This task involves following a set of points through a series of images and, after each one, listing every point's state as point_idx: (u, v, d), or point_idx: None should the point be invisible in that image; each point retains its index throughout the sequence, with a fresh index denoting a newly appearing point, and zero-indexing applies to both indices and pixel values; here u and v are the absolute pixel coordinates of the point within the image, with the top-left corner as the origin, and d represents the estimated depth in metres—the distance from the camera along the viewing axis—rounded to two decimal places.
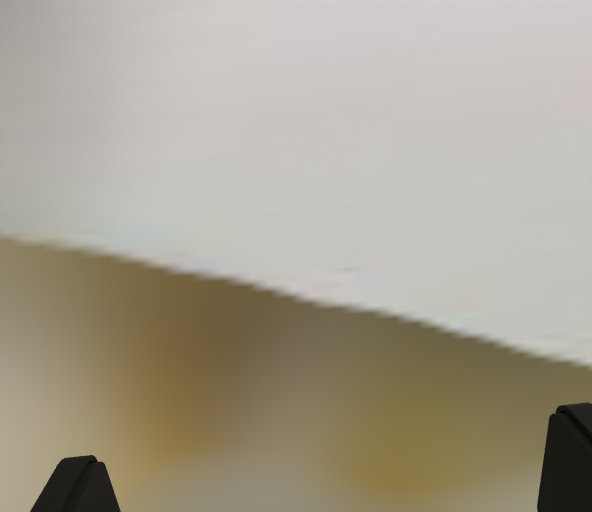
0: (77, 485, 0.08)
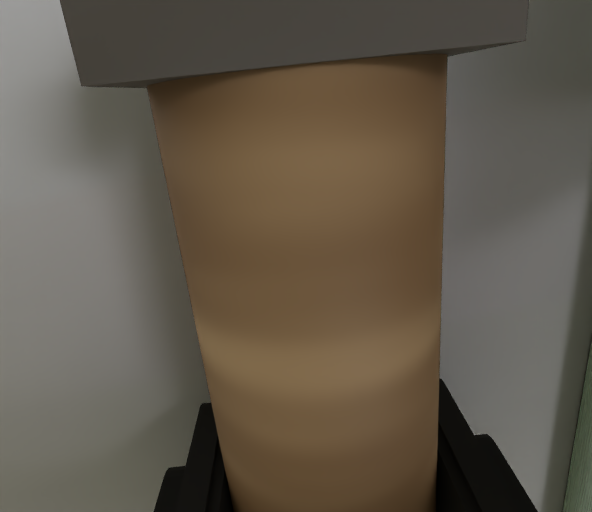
0: None
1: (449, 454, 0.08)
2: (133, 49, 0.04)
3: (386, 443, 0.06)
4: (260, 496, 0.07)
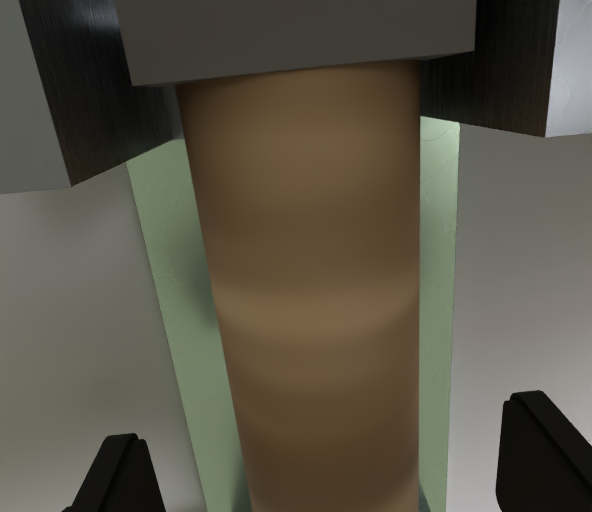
0: (124, 460, 0.08)
1: (576, 476, 0.07)
2: (173, 57, 0.05)
3: (372, 383, 0.07)
4: (266, 432, 0.08)
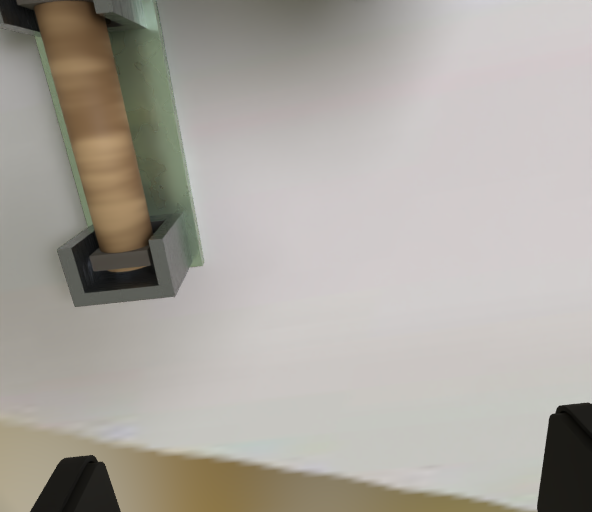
0: (77, 485, 0.08)
1: None
2: None
3: (89, 89, 0.28)
4: (65, 108, 0.28)
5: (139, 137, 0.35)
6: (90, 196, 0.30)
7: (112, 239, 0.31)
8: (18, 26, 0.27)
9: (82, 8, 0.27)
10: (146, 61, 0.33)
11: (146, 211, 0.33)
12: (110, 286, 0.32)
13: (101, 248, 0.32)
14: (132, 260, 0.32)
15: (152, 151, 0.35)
